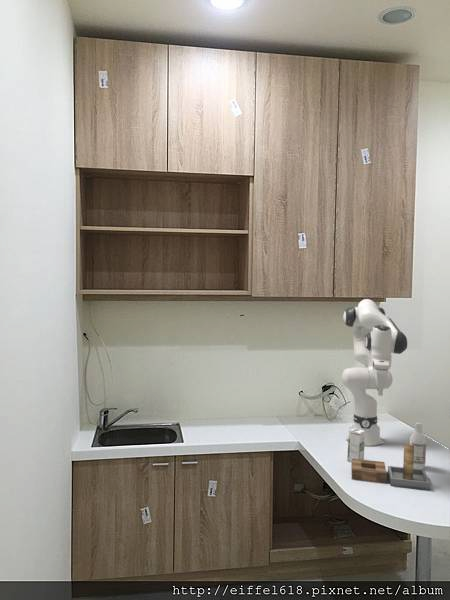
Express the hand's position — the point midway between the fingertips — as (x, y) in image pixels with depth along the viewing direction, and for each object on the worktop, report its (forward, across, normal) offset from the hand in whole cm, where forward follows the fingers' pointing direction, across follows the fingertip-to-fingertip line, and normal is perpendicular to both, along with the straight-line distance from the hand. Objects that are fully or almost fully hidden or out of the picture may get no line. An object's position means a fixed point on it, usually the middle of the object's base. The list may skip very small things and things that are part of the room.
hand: (379, 393), depth 223 cm
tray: (+34, +11, +12) cm, 38 cm away
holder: (+34, +9, -4) cm, 35 cm away
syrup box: (+34, -7, -9) cm, 36 cm away
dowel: (+33, +11, +12) cm, 37 cm away
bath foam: (+34, -8, +18) cm, 40 cm away
